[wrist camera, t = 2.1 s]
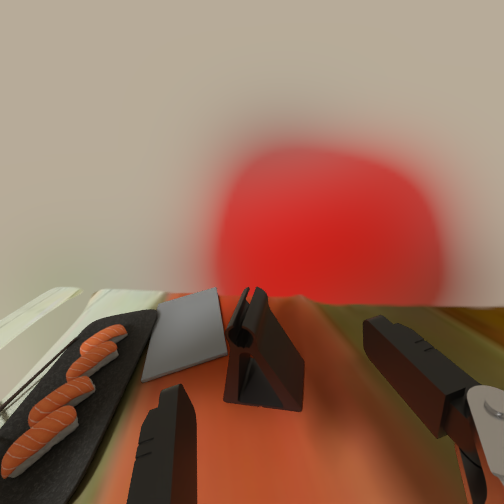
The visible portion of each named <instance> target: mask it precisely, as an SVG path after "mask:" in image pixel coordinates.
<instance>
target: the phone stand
mask: <svg viewBox="0 0 504 504" xmlns="http://www.w3.org/2000/svg"><path fill="white" fill-rule="evenodd" d="M249 290H250V289H249V287H247V288H246V289H244V291H243V293H242V295H241V297H240V300H239V302H238V304H237V306H236V309H235V311H234V313H233V315H232V318H231V320H230V322H229V324H228V327H227V329H226V331H225V336H226V339H227V340H228V342H229V345H230V356H229V363H228V370H227V377H226V384H225V391H224V398H223V401H224V402H226V403H234V404H242V405H249V406H257V407H260V406H262V407H265V408H273V409H280V410H288V411H296V412H301V411H302V396H303V377H304V360H303V359H302V357H301V356H300V354H299V353H298V351H297V350H296V348H295V347H294V345H293V343H292V342H291V340H290V339H289V337H288V336H287V334H286V333H285V331H284V330H283V328H282V327H281V325H280V324H279V322H278V321H277V319H276V318H275V316H274V315H273V313H272V312H271V310H270V308H269V305H268V296H267V294H266V293H265V291H264V290H262V289H261V288H259V287H256V289H255V292H254V295H253V297H252V300H251V303H250V305H249V303H248V302H247V301H246V297H247V294H248V292H249ZM250 354H251V355H252V356H253V357H254V358H251V357H250Z"/></svg>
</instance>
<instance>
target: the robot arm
mask: <svg viewBox="0 0 504 504" xmlns="http://www.w3.org/2000/svg"><path fill="white" fill-rule="evenodd" d="M363 346H364V350H365V352H366V354H367V356H368V358H369V359H370V361H371V362H372V363H373V364H374V365H375V367H376V368H377V369H378V370H379V371H380V372H381V374H382V375H383V376H384V377H385V378H386V379H387V381H388V382H389V383H390V384H391V385H392V387H393V388H394V389H395V390H396V391H397V392H398V394H399V395H400V396H401V397H402V398H403V399H404V401H405V402H406V403H407V404H408V405H409V407H410V408H411V409H412V410H413V411H414V412H415V414H416V415H417V416H418V417H419V418H420V419H421V421H422V422H423V423H424V424H425V425H426V427H427V428H428V429H429V430H430V431H431V432H432V434H433V435H434V436H435V437H436V438H437V439H438V438H441V437H443V436H445V435H449V436H450V438H451V439H452V440H453V441H454V442H455V451H456V455H457V459H458V463H459V468H460V472H461V476H462V480H463V485H464V489H465V493H466V497H467V501H468V504H504V391H503V390H500V389H498V388H495V387H491V386H485V385H481V384H480V383H478V382H477V381H475V380H474V379H473V378H471V377H470V376H469V375H468V374H467V373H465V372H464V371H463V370H462V369H460V368H459V367H458V366H457V365H455V364H454V363H453V362H452V361H450V360H449V359H448V358H447V357H446V356H444V355H443V354H442V353H441V352H439V351H438V350H437V349H434V347H433V346H432V345H431V344H429V343H428V342H427V341H424V339H423V338H422V337H421V336H420V335H418V334H417V333H416V332H415V331H413V330H412V329H410V328H408V327H406V326H403V325H401V324H399V323H396V324H392V323H391V322H390V321H389V320H388V319H386V318H385V317H384V316H382V315H378V316H376V317H373V318H370V319H367V320H364V321H363ZM138 444H139V446H138V447H137V452H136V457H135V458H136V461H135V463H134V468H133V473H132V478H131V483H130V488H129V494H128V499H127V504H197V423H196V414H195V410H194V407H193V405H192V403H191V401H190V399H189V397H188V395H187V393H186V391H185V389H184V387H183V385H182V384H178V385H175V386H172V387H169V388H166V389H164V390H162V391H161V393H160V397H159V404H158V408H155V409H152V410H150V411H149V413H148V415H147V417H146V419H145V421H144V422H143V424H142V426H141V432H140V437H139V442H138Z"/></svg>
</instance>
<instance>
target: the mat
mask: <svg viewBox="0 0 504 504" xmlns="http://www.w3.org/2000/svg"><path fill="white" fill-rule="evenodd" d="M157 313H158V316H157V320H156V323H155V325H154V328H153V330H152V335H151V339H150V343H149V348H148V352H147V356H146V361H145V365H144V370H143V374H142V378H141V381H142V383H144V382H147V381H150V380H153V379H156V378H159V377H162V376H165V375H168V374H171V373H174V372H177V371H180V370H183V369H186V368H189V367H192V366H195V365H198V364H201V363H204V362H207V361H210V360H213V359H216V358H219V357H222V356H225V355H228V353H227V347H226V341H225V335H224V329H223V323H222V317H221V311H220V305H219V299H218V293H217V288H216V287H215V288H211V289H208V290H204V291H201V292H197V293H194V294H191V295H187V296H184V297H180V298H177V299H174V300H170V301H167V302H163V303H160V304H158V308H157Z"/></svg>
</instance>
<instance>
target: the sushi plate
mask: <svg viewBox="0 0 504 504" xmlns="http://www.w3.org/2000/svg"><path fill="white" fill-rule="evenodd" d="M157 316H158V313H157V311H156V310H152V309H150V310H141V311H135V312H130V313H125V314H119V315H114V316H110V317H106V318H102V319H99V320H96V321H94V322H92V323H91V324H89V325H88V326H87V327H86V328H85V329H84V330H83V331H82V332H81V333H80V334H79V335H78V336H77V337H76V338H74V339H73V340H72V341H71V342H70V343H69V344H68V345H67V346H66V347H65V348H64V349H63V350H61V351H60V352H59V353H58V354H57V355H56V356H55V357H54V358H53V359H52V360H51V361H50V362H48V363H47V364H46V365H45V366H44V367H43V368H42V369H41V370H40V371H39V372H38V373H36V374H35V375H34V376H33V377H32V378H31V379H30V380H29V381H28V382H27V383H26V384H25V385H23V386H22V387H21V388H20V389H19V390H18V391H17V392H16V393H15V394H14V395H13V396H12V397H10V398H9V399H8V400H7V401H6V402H5V403H4V404H3V405H2V406H1V407H0V412H1V411H2V410H3V409H4V408H5V407H6V406H7V405H8V404H9V403H10V402H11V401H12V400H13V399H14V398H15V397H16V396H17V395H18V394H19V393H20V392H21V391H23V390H24V389H25V388H26V387H27V386H28V385H29V384H30V383H31V382H32V381H33V380H34V379H35V378H36V377H37V376H38V375H39V374H40V373H41V372H43V371H44V370H45V369H46V368H47V367H48V366H49V365H50V364H51V363H52V362H53V361H54V360H55V359H56V358H57V357H58V356H59V355H60V354H62V353H63V352H64V351H65V352H64V353H63V354H62V355H61V356H60V358H59V359H58V360H57V361H56V362H55V364H54V365H53V366H52V367H51V368H50V370H49V371H48V372H47V373H46V374H45V376H44V377H43V378H42V379H41V380H40V382H39V383H38V384H37V385H36V386H35V388H34V389H33V390H32V391H31V392H30V394H29V395H28V396H27V397H26V398H25V400H24V401H23V402H22V403H21V404H20V406H19V407H18V408H17V409H16V410H15V412H14V413H13V414H12V415H11V416H10V418H9V419H8V420H7V421H6V422H5V424H4V425H3V426H2V427H1V428H0V504H67V502H68V501H69V499H70V498H71V497H72V495H73V494H74V492H75V490H76V489H77V487H78V485H79V484H80V482H81V480H82V478H83V476H84V475H85V473H86V471H87V469H88V467H89V465H90V463H91V461H92V459H93V457H94V455H95V452H96V450H97V448H98V446H99V444H100V442H101V440H102V438H103V436H104V433H105V431H106V429H107V427H108V425H109V423H110V421H111V418H112V416H113V414H114V412H115V410H116V408H117V405H118V403H119V401H120V399H121V397H122V395H123V392H124V390H125V388H126V386H127V384H128V382H129V380H130V377H131V375H132V373H133V371H134V369H135V367H136V364H137V362H138V360H139V358H140V356H141V354H142V351H143V349H144V347H145V345H146V343H147V341H148V339H149V336H150V334H151V332H152V330H153V328H154V325H155V323H156V320H157Z"/></svg>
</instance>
